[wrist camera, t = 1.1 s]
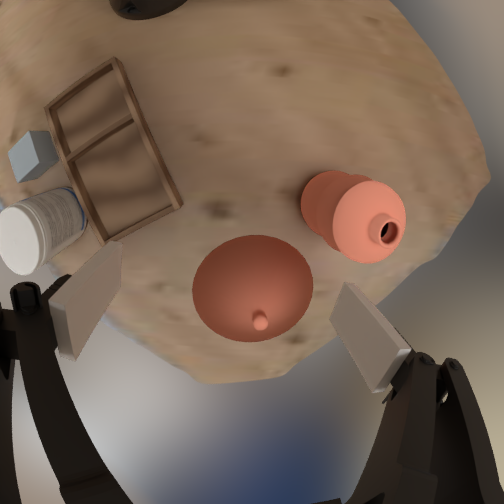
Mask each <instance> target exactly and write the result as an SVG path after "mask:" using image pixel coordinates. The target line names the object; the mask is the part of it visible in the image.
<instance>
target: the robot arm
mask: <svg viewBox="0 0 504 504" xmlns="http://www.w3.org/2000/svg"><path fill="white" fill-rule="evenodd" d="M109 1H110V4H111V7H112V8H113V9H114V11H115V12H116V13H117V14H118V15H119V16H121V17H123V18H126V19H130V20H145V19H151V18H155V17H158V16H161V15H164V14H166V13H169V12H171V11H173V10H175V9H176V8H178V7H179V6H181V5H182V4H184V3H185V2H186V1H187V0H109ZM122 244H123V243H121V242H116V241H109V242H108V243H107V244H106V245H105V246H104V247H102V248H101V249H100V250H99V251H98V252H97V253H96V254H95V255H94V256H93V257H91V258H90V259H89V260H88V261H87V262H86V263H85V264H84V265H83V266H82V267H81V268H80V269H79V270H78V271H77V272H76V273H75V274H74V275H73V276H72V275H69V274H66V275H64V276H62V277H60V278H58V279H57V280H56V281H55V282H54V283H53V284H52V285H51V286H50V287H49V289H47V290H46V291H45V292H44V293H43V294H42V295H41V291H40V287H39V286H38V285H37V284H36V283H33V282H21V283H18V284H16V285H14V286H13V287H12V288H11V290H10V296H11V301H12V305H13V309H14V310H8V309H2V307H1V303H0V504H22V503H21V499H20V494H19V489H18V484H17V478H16V471H15V463H14V455H13V442H12V389H13V377H14V367H15V359H16V360H20V366H21V371H22V376H23V381H24V385H25V390H26V394H27V397H28V402H29V405H30V409H31V413H32V416H33V419H34V422H35V425H36V428H37V431H38V434H39V437H40V439H41V442H42V445H43V447H44V450H45V453H46V455H47V458H48V460H49V462H50V465H51V467H52V469H53V471H54V473H55V475H56V477H57V480H58V482H59V485H60V488H59V489H60V493H61V496H62V498H63V500H64V501H65V503H66V504H133V503H132V502H131V500H130V499H129V498H128V496H127V495H126V494H125V492H124V491H123V489H122V488H121V487H120V485H119V484H118V482H117V481H116V479H115V478H114V477H113V475H112V474H111V473H110V471H109V470H108V468H107V467H106V465H105V463H104V462H103V460H102V459H101V457H100V455H99V453H98V452H97V450H96V448H95V446H94V444H93V443H92V441H91V439H90V437H89V435H88V433H87V431H86V429H85V427H84V425H83V423H82V421H81V419H80V417H79V415H78V412H77V410H76V408H75V406H74V403H73V401H72V399H71V396H70V394H69V392H68V389H67V386H66V384H65V381H64V378H63V376H62V373H61V370H60V367H59V364H58V361H57V358H56V355H55V352H54V351H55V349H56V348H57V346H58V350H59V354H60V356H61V357H63V358H66V359H69V360H72V361H76V359H77V358H78V356H79V354H80V352H81V351H82V349H83V347H84V345H85V344H86V342H87V340H88V338H89V337H90V335H91V333H92V332H93V330H94V328H95V327H96V325H97V323H98V322H99V320H100V319H101V317H102V315H103V314H104V312H105V310H106V309H107V307H108V306H109V304H110V303H111V301H112V300H113V298H114V296H115V295H116V293H117V292H118V290H119V289H120V287H121V263H122ZM329 320H330V321H331V323H332V325H333V326H334V328H335V330H336V331H337V333H338V335H339V336H340V338H341V339H342V341H343V343H344V344H345V346H346V348H347V350H348V351H349V353H350V355H351V357H352V358H353V360H354V362H355V364H356V365H357V367H358V369H359V370H360V372H361V374H362V376H363V378H364V379H365V381H366V383H367V385H368V386H369V388H370V390H371V392H372V393H376V392H384V391H385V389H386V388H387V386H388V385H389V383H391V385H392V386H393V388H392V390H391V391H390V393H389V394H388V395H387V397H386V398H385V399H384V401H383V402H382V403H383V404H384V403H385V402H386V401H387V404H386V407H385V411H384V414H383V418H382V421H381V424H380V427H379V430H378V433H377V436H376V439H375V442H374V445H373V447H372V450H371V453H370V455H369V458H368V461H367V463H366V466H365V468H364V470H363V473H362V475H361V477H360V480H359V482H358V484H357V486H356V489H355V491H354V493H353V495H352V496H351V498H350V499H349V500H348V501H347V502H346V503H345V504H504V491H503V489H502V487H501V485H500V482H499V477H498V472H497V467H496V463H495V458H494V454H493V450H492V447H491V443H490V439H489V436H488V433H487V429H486V427H485V423H484V420H483V417H482V415H481V411H480V408H479V406H478V403H477V400H476V398H475V395H474V393H473V390H472V388H471V385H470V383H469V381H468V378H467V376H466V373H465V371H464V369H463V367H462V365H461V364H460V363H459V362H458V361H457V360H456V359H452V358H446V359H445V361H444V362H443V364H442V365H437V364H436V363H435V361H434V360H433V358H432V357H430V356H429V355H427V354H425V353H422V352H417V353H416V352H415V351H414V350H413V348H412V347H411V346H410V345H409V344H408V342H407V341H406V340H404V338H403V337H402V336H401V335H400V333H399V332H398V331H397V330H396V328H394V327H393V326H392V325H391V324H390V323H389V322H388V320H387V319H386V318H385V317H384V316H383V315H382V314H381V312H380V311H379V310H378V309H377V308H376V307H375V306H374V305H373V303H372V302H371V301H370V300H369V299H368V298H367V297H366V296H365V295H364V293H363V292H362V291H361V290H360V289H359V288H358V287H357V286H356V285H355V284H354V283H348V282H344V284H343V287H342V289H341V292H340V294H339V297H338V299H337V302H336V304H335V307H334V309H333V312H332V314H331V316H330V319H329ZM447 393H448V396H447V399H446V401H445V402H444V403H443V400H442V399H443V398H444V397H445V395H446V394H447ZM313 504H342V503H341V500H340V498H338V499H333V500H329V501H324V502H318V503H313Z"/></svg>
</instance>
